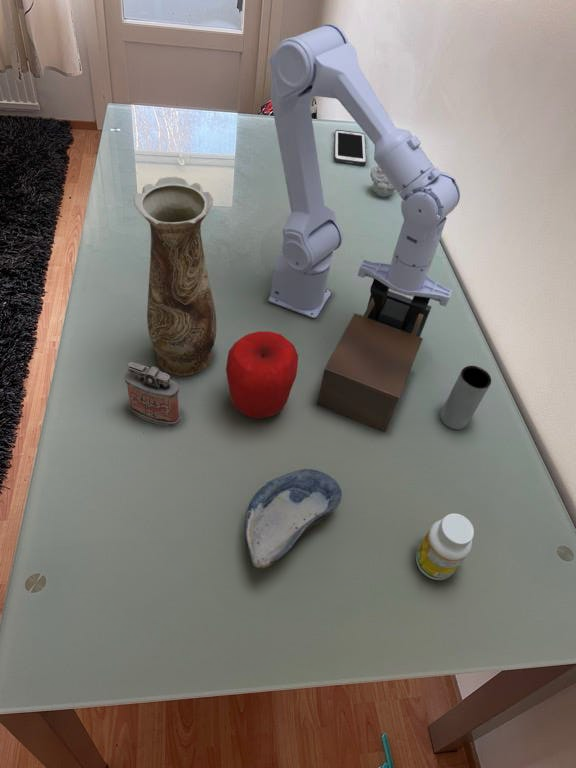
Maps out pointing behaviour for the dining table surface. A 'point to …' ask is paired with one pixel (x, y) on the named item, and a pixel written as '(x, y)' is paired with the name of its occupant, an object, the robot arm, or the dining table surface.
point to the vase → (178, 275)
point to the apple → (261, 373)
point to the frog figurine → (381, 182)
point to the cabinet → (368, 371)
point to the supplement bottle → (445, 546)
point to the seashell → (287, 512)
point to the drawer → (417, 322)
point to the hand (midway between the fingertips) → (391, 321)
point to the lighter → (152, 395)
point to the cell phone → (350, 147)
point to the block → (393, 314)
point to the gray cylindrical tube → (465, 397)
